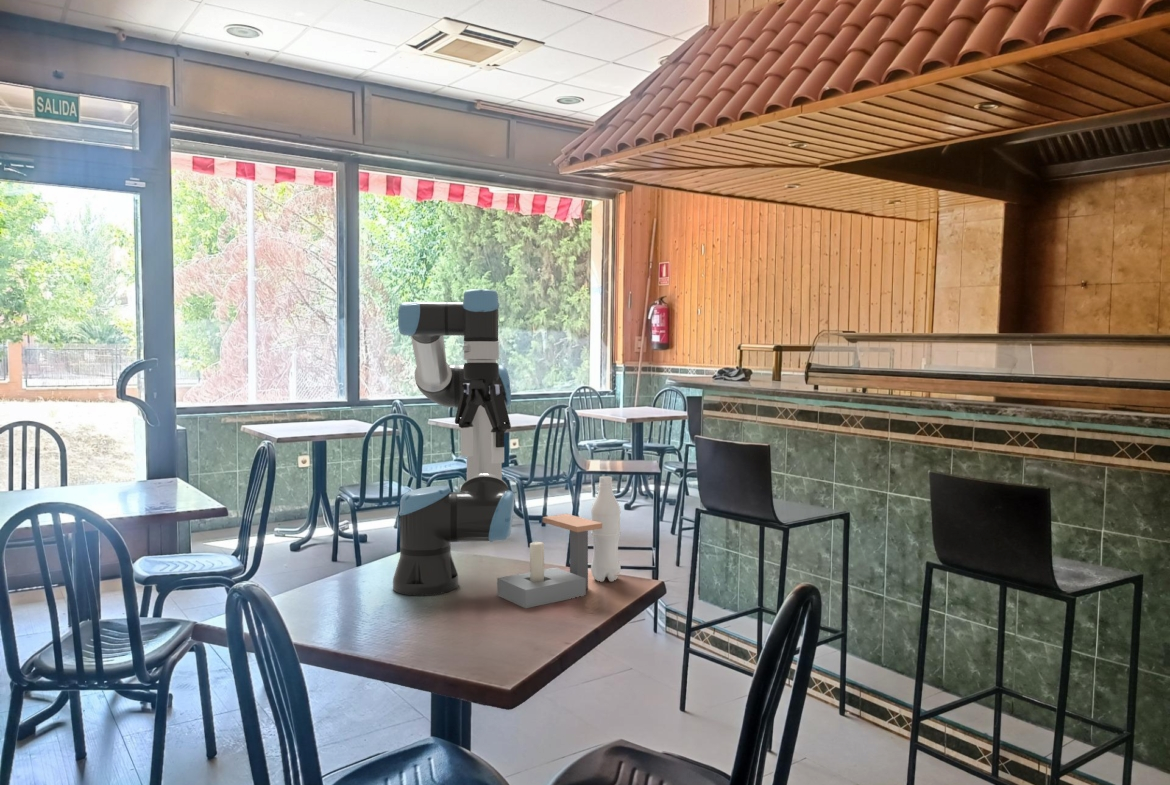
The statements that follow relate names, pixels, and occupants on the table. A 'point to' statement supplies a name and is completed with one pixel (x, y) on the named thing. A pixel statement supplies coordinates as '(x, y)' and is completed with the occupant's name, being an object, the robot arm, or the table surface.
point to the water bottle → (605, 533)
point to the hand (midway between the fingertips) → (481, 459)
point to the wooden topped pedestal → (576, 540)
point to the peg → (536, 562)
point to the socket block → (541, 588)
